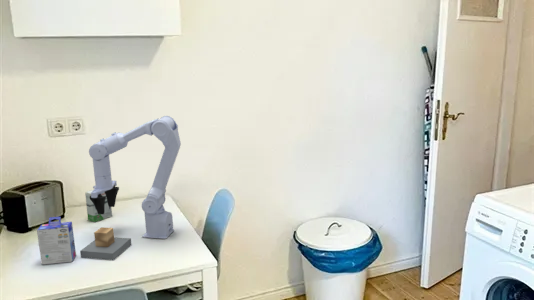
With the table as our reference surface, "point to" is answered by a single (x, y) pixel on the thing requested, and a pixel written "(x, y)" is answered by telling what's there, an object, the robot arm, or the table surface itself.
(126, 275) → the table surface
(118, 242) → the gray square plate
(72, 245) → the ink cartridge box
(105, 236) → the wooden block
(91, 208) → the white cardboard box
